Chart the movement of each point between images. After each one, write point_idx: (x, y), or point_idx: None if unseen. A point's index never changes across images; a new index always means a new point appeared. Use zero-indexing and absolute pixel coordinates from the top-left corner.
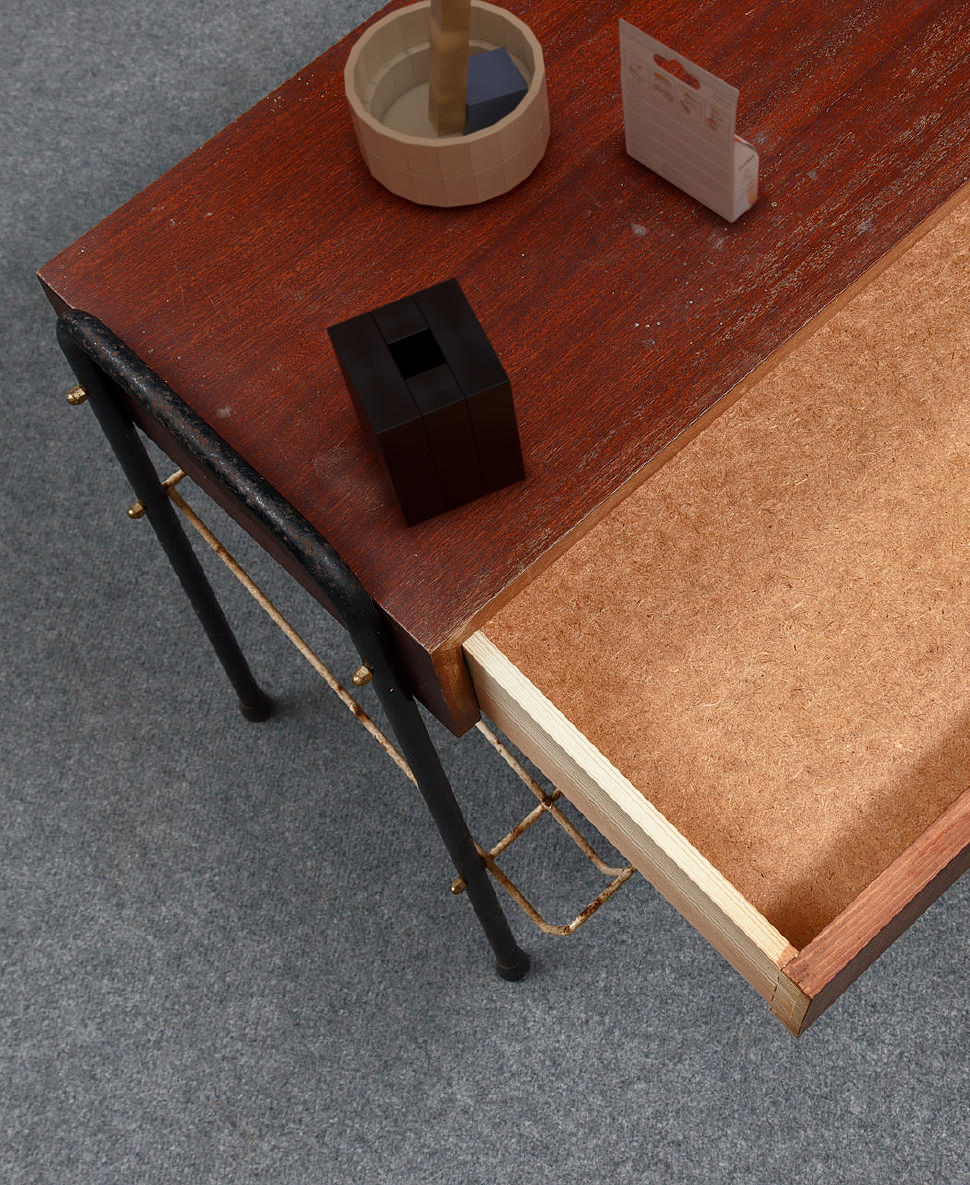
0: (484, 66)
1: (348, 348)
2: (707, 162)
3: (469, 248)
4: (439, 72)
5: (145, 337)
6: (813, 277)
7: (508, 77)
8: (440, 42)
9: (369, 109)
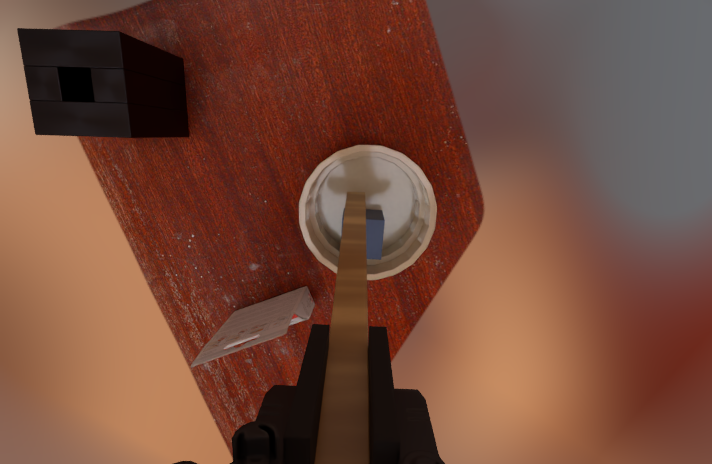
0: (370, 241)
1: (94, 39)
2: (238, 321)
3: (284, 175)
4: (346, 209)
5: None
6: (186, 329)
7: None
8: (345, 219)
9: (388, 160)
